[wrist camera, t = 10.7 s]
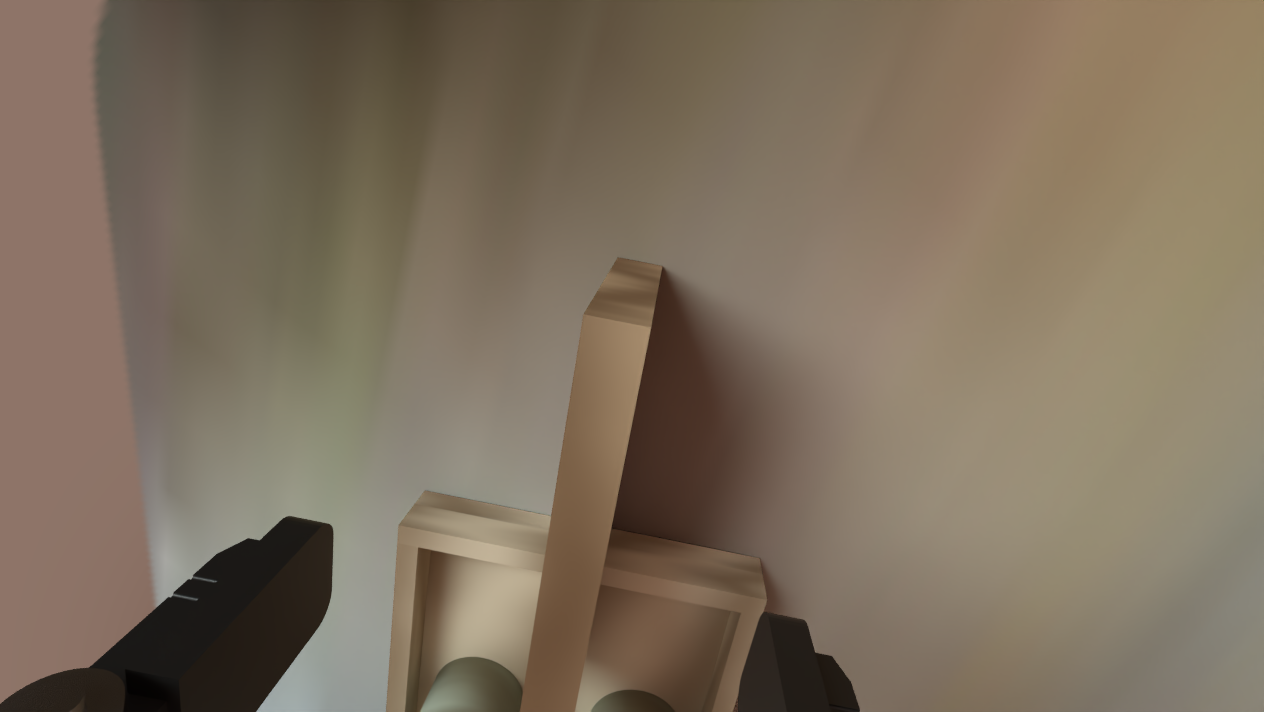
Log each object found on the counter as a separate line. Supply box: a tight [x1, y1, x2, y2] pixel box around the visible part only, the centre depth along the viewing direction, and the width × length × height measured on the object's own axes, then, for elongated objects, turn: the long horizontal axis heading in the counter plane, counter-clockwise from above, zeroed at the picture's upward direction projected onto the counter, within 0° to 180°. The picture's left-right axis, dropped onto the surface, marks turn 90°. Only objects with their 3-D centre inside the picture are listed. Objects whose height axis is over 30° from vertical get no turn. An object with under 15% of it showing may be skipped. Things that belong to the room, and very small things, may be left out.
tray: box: [386, 258, 767, 712], centre depth 22 cm, size 14×23×8 cm, turn 170°
